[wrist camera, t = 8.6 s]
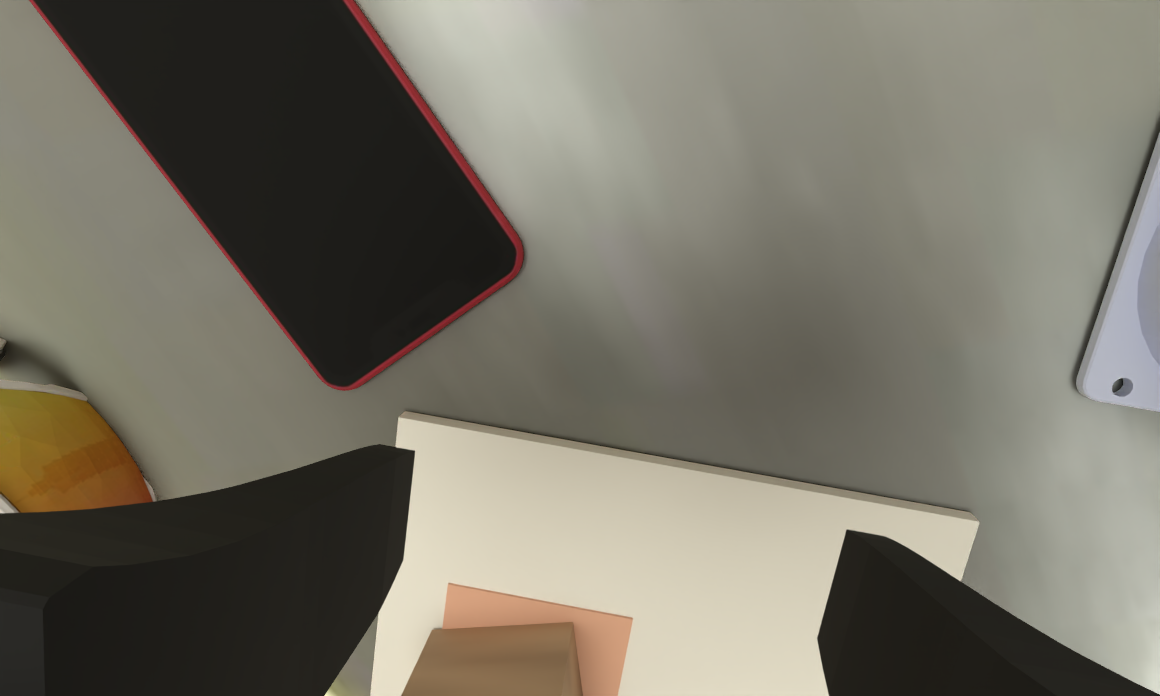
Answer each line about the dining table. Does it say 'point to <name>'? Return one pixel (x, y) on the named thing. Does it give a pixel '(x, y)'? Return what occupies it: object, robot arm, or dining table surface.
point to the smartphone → (302, 166)
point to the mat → (631, 560)
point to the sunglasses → (61, 453)
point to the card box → (498, 662)
